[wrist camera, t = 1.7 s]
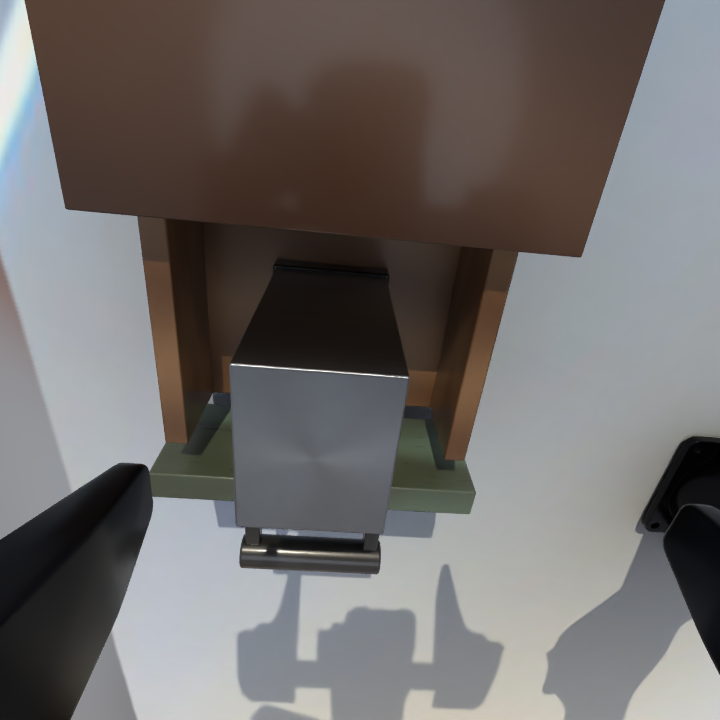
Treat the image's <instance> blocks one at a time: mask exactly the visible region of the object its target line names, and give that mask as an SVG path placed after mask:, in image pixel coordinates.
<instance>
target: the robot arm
mask: <svg viewBox="0 0 720 720" xmlns="http://www.w3.org/2000/svg"><path fill="white" fill-rule="evenodd" d="M152 510H153V498H152V490H151V483H150V475H149V470H148V468H147V466H146V465H144V464H135V463H119V464H116V465H115V466H113V467H111V468H110V469H108V470H107V471H105V472H104V473H102V474H101V475H99V476H98V477H96V478H94V479H93V480H91V481H90V482H88V483H87V484H85V485H84V486H82V487H81V488H79V489H78V490H76V491H75V492H73V493H71V494H70V495H68V496H67V497H65V498H64V499H62V500H61V501H59V502H58V503H56V504H55V505H53V506H51V507H50V508H48V509H47V510H45V511H44V512H42V513H41V514H39V515H38V516H36V517H35V518H33V519H32V520H30V521H29V522H27V523H25V524H24V525H23V526H21V527H19V528H18V529H16V530H15V531H13V532H12V533H10V534H8V535H7V536H6V537H4V538H2V539H1V540H0V720H71V717H72V715H73V713H74V711H75V708H76V706H77V704H78V702H79V700H80V698H81V695H82V693H83V691H84V689H85V687H86V684H87V682H88V680H89V678H90V676H91V674H92V671H93V669H94V667H95V665H96V663H97V660H98V658H99V656H100V654H101V651H102V649H103V647H104V645H105V643H106V640H107V638H108V636H109V634H110V632H111V630H112V627H113V625H114V623H115V620H116V618H117V616H118V613H119V610H120V608H121V605H122V602H123V599H124V597H125V594H126V591H127V588H128V585H129V582H130V579H131V576H132V573H133V570H134V567H135V564H136V561H137V558H138V555H139V552H140V549H141V546H142V543H143V540H144V537H145V534H146V531H147V528H148V525H149V522H150V519H151V515H152ZM642 523H643V525H644V527H645V528H646V529H647V530H648V531H650V532H665V535H664V537H663V548H664V551H665V554H666V556H667V559H668V561H669V563H670V566H671V568H672V571H673V573H674V575H675V578H676V580H677V583H678V585H679V587H680V590H681V592H682V594H683V597H684V599H685V602H686V604H687V606H688V609H689V611H690V613H691V616H692V618H693V621H694V623H695V625H696V628H697V630H698V632H699V634H700V637H701V639H702V641H703V643H704V645H705V647H706V649H707V651H708V653H709V655H710V657H711V659H712V661H713V663H714V665H715V667H716V669H717V671H718V672H719V674H720V438H712V437H698V436H696V437H691V438H689V439H687V440H686V441H685V442H684V443H683V445H682V447H681V449H680V451H679V453H678V455H677V456H676V458H675V460H674V462H673V464H672V466H671V468H670V469H669V471H668V473H667V475H666V477H665V479H664V481H663V483H662V484H661V486H660V488H659V490H658V492H657V494H656V496H655V498H654V499H653V501H652V503H651V505H650V507H649V509H648V511H647V512H646V514H645V516H644V518H643V520H642Z"/></svg>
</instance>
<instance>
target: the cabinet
mask: <svg viewBox="0 0 720 720" xmlns="http://www.w3.org/2000/svg"><path fill="white" fill-rule="evenodd" d="M664 2H665V0H25V4H26V9H27V14H28V19H29V24H30V29H31V35H32V40H33V45H34V50H35V55H36V60H37V65H38V70H39V75H40V81H41V86H42V91H43V96H44V101H45V106H46V111H47V116H48V122H49V127H50V132H51V137H52V142H53V147H54V152H55V157H56V162H57V168H58V173H59V178H60V183H61V188H62V193H63V198H64V203H65V208H66V209H68V210H78V211H89V212H100V213H110V214H121V215H132V216H142V217H153V218H164V219H174V220H185V221H196V222H206V223H217V224H228V225H238V226H249V227H260V228H270V229H281V230H292V231H302V232H313V233H324V234H334V235H345V236H356V237H366V238H377V239H388V240H398V241H409V242H420V243H431V244H441V245H452V246H463V247H473V248H484V249H495V250H505V251H516V252H527V253H537V254H548V255H559V256H569V257H581V256H582V253H583V250H584V247H585V244H586V241H587V238H588V235H589V232H590V229H591V226H592V223H593V220H594V217H595V213H596V210H597V207H598V204H599V201H600V198H601V195H602V192H603V189H604V186H605V183H606V180H607V177H608V174H609V171H610V168H611V165H612V161H613V158H614V155H615V152H616V149H617V146H618V143H619V140H620V137H621V134H622V131H623V128H624V125H625V122H626V119H627V116H628V112H629V109H630V106H631V103H632V100H633V97H634V94H635V91H636V88H637V85H638V82H639V79H640V76H641V73H642V70H643V67H644V64H645V60H646V57H647V54H648V51H649V48H650V45H651V42H652V39H653V36H654V33H655V30H656V27H657V24H658V21H659V18H660V15H661V11H662V8H663V5H664Z"/></svg>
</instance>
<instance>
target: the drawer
mask: <svg viewBox="0 0 720 720" xmlns="http://www.w3.org/2000/svg"><path fill="white" fill-rule="evenodd" d="M137 217H138V225H139V233H140V241H141V249H142V257H143V265H144V273H145V280H146V288H147V296H148V304H149V312H150V320H151V328H152V336H153V344H154V352H155V360H156V368H157V376H158V384H159V392H160V400H161V408H162V416H163V424H164V432H165V440H166V443H165V445H164V447H163V449H162V450H161V452H160V454H159V456H158V458H157V459H156V461H155V463H154V465H153V466H152V468H151V470H150V472H149V475H150V483H151V490H152V496H153V497H169V498H187V499H205V500H223V501H235V494H234V470H233V445H232V421H231V406H230V405H215V404H207V403H208V401H209V399H210V397H211V395H212V393H213V392H218V393H230V372H229V364H230V362H231V360H232V358H233V356H234V354H235V352H236V350H237V348H238V346H239V344H240V342H241V340H242V337H243V335H244V333H245V331H246V329H247V327H248V325H249V323H250V321H251V319H252V317H253V315H254V313H255V311H256V309H257V307H258V305H259V302H260V300H261V298H262V296H263V294H264V292H265V290H266V288H267V286H268V284H269V282H270V280H271V278H272V276H273V265H274V263H275V261H276V260H277V259H281V260H292V261H303V262H314V263H326V264H337V265H348V266H359V267H370V268H381V269H388V272H389V275H390V278H389V285H388V287H389V291H390V295H391V299H392V304H393V308H394V312H395V317H396V321H397V325H398V329H399V334H400V338H401V342H402V347H403V351H404V355H405V359H406V364H407V368H408V372H409V377H410V381H409V387H408V392H407V398H406V404H405V406H417V407H430V409H431V413H432V416H433V419H419V418H404V417H403V422H402V427H401V433H400V439H399V445H398V451H397V457H396V462H395V468H394V474H393V480H392V486H391V492H390V497H389V503H388V509H387V510H402V511H420V512H438V513H456V514H470V512H471V508H472V505H473V501H474V498H475V494H476V491H475V488H474V486H473V483H472V480H471V477H470V474H469V471H468V468H467V465H466V462H465V456H466V452H467V448H468V444H469V440H470V436H471V433H472V429H473V425H474V421H475V417H476V413H477V409H478V406H479V402H480V398H481V394H482V390H483V386H484V383H485V379H486V375H487V371H488V367H489V363H490V360H491V356H492V352H493V348H494V344H495V340H496V337H497V333H498V329H499V325H500V321H501V317H502V314H503V310H504V306H505V302H506V298H507V294H508V291H509V287H510V283H511V279H512V275H513V271H514V268H515V264H516V260H517V256H518V252H516V251H505V250H495V249H484V248H473V247H463V246H452V245H441V244H431V243H420V242H409V241H398V240H388V239H377V238H366V237H356V236H345V235H334V234H324V233H313V232H302V231H292V230H281V229H270V228H260V227H249V226H238V225H228V224H217V223H206V222H196V221H185V220H174V219H164V218H153V217H142V216H137ZM378 539H379V534H370V533H363V539H350V538H330V537H311V536H291V535H272V534H262V528H255V527H245V534H244V536H243V539H242V543H241V549H240V558H239V563H240V567H241V568H254V569H276V570H297V571H319V572H340V573H362V574H378V573H379V570H380V562H381V547H380V542H379V540H378Z"/></svg>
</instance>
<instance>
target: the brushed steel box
mask: <svg viewBox="0 0 720 720" xmlns="http://www.w3.org/2000/svg"><path fill="white" fill-rule="evenodd" d="M389 278H390V275H389V272H388V269H381V268H370V267H359V266H348V265H337V264H326V263H314V262H303V261H292V260H281V259H277V260H276V261H275V263H274V265H273V276H272V278H271V280H270V282H269V284H268V286H267V288H266V290H265V292H264V294H263V296H262V298H261V300H260V302H259V305H258V307H257V309H256V311H255V313H254V315H253V317H252V319H251V321H250V323H249V325H248V327H247V329H246V331H245V333H244V335H243V337H242V340H241V342H240V344H239V346H238V348H237V350H236V352H235V354H234V356H233V358H232V360H231V362H230V364H229V372H230V396H231V421H232V445H233V470H234V494H235V518H236V526H238V527H255V528H274V529H293V530H313V531H332V532H351V533H370V534H383V532H384V527H385V521H386V515H387V509H388V503H389V497H390V492H391V486H392V480H393V474H394V468H395V462H396V457H397V451H398V445H399V439H400V433H401V427H402V422H403V416H404V410H405V404H406V398H407V392H408V387H409V381H410V377H409V372H408V368H407V364H406V359H405V355H404V351H403V347H402V342H401V338H400V334H399V329H398V325H397V321H396V317H395V312H394V308H393V304H392V299H391V295H390V291H389V287H388V285H389Z"/></svg>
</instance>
